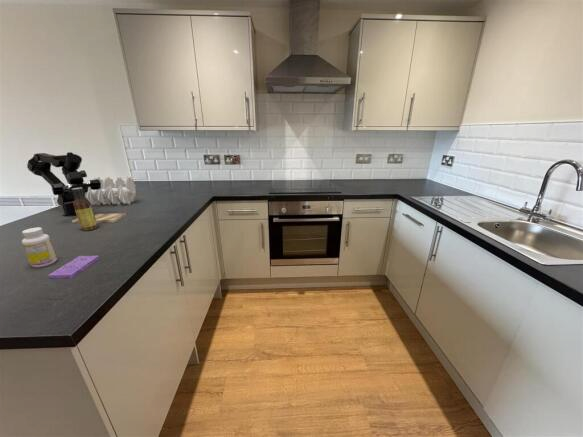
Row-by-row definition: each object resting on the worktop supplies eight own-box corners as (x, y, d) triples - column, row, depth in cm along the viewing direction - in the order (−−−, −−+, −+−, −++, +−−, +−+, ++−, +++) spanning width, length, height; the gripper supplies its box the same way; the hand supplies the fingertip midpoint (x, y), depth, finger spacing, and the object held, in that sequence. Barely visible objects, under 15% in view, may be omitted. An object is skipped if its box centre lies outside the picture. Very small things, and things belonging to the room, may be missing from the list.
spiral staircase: (100, 208, 158) (141, 205, 162) (80, 204, 141) (126, 201, 144) (99, 181, 160) (139, 179, 163) (79, 174, 143) (125, 171, 146)
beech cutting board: (72, 223, 122) (71, 220, 122) (87, 216, 133) (87, 213, 132) (113, 222, 124) (113, 220, 124) (125, 215, 134) (125, 213, 134)
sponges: (100, 259, 89) (98, 255, 88) (72, 279, 77) (70, 274, 76) (80, 260, 88) (79, 255, 88) (49, 279, 77) (47, 274, 76)
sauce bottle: (101, 227, 117) (90, 187, 111) (87, 232, 112) (74, 190, 105) (92, 225, 119) (80, 186, 113) (78, 230, 114) (65, 189, 107)
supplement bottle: (43, 258, 88) (30, 226, 84) (62, 258, 89) (51, 225, 84) (25, 268, 82) (11, 233, 77) (46, 267, 82) (33, 233, 78)
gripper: (45, 167, 111) (57, 194, 108) (94, 163, 124) (106, 187, 122) (47, 182, 118) (59, 207, 115) (94, 177, 132) (106, 200, 129)
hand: (83, 200), depth 120 cm, fingers closed
